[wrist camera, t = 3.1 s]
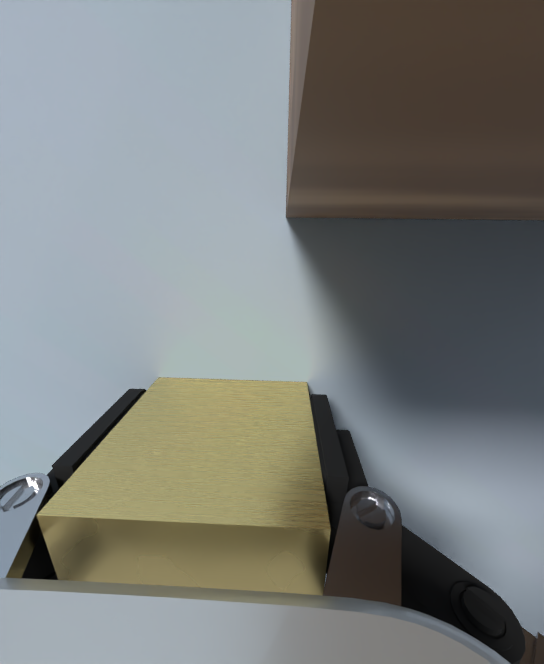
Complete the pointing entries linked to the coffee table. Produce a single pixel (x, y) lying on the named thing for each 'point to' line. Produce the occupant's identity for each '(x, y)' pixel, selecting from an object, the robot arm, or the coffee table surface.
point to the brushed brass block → (199, 493)
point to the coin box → (416, 109)
